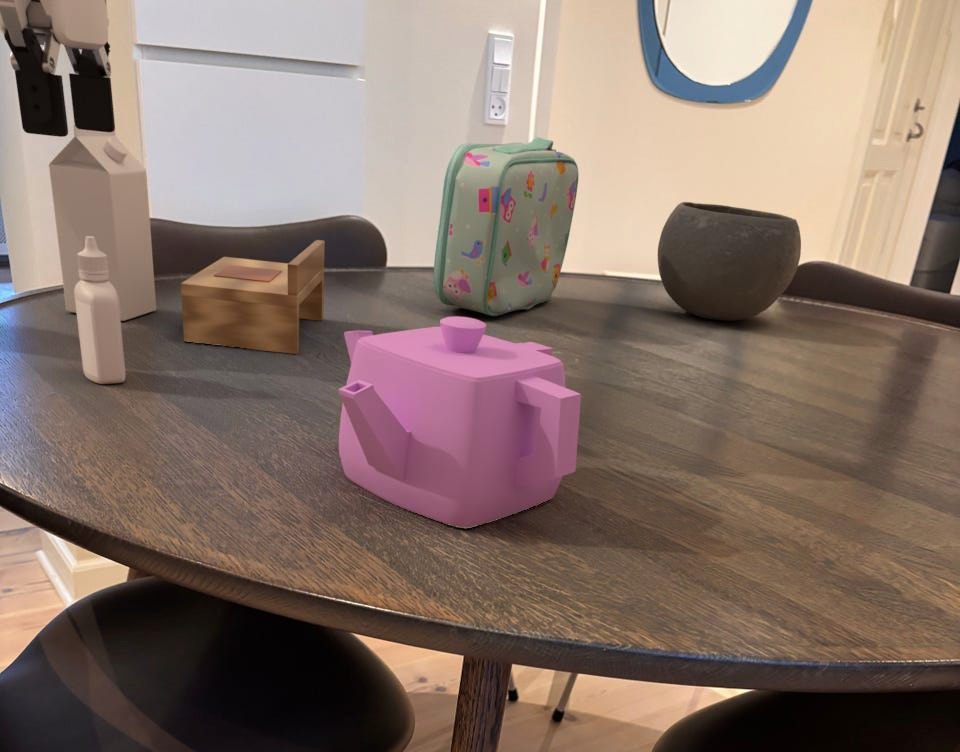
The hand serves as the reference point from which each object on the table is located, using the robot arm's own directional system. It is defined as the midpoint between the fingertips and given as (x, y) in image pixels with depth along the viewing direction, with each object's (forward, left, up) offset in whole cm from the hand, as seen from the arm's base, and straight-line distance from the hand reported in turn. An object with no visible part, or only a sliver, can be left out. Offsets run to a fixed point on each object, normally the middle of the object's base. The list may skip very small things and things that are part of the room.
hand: (72, 132), depth 74 cm
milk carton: (-8, +27, -20) cm, 34 cm away
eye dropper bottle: (0, +2, -20) cm, 20 cm away
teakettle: (+32, -17, -20) cm, 42 cm away
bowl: (+70, +64, -20) cm, 97 cm away
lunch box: (+37, +55, -20) cm, 69 cm away
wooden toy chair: (+9, +26, -20) cm, 34 cm away
